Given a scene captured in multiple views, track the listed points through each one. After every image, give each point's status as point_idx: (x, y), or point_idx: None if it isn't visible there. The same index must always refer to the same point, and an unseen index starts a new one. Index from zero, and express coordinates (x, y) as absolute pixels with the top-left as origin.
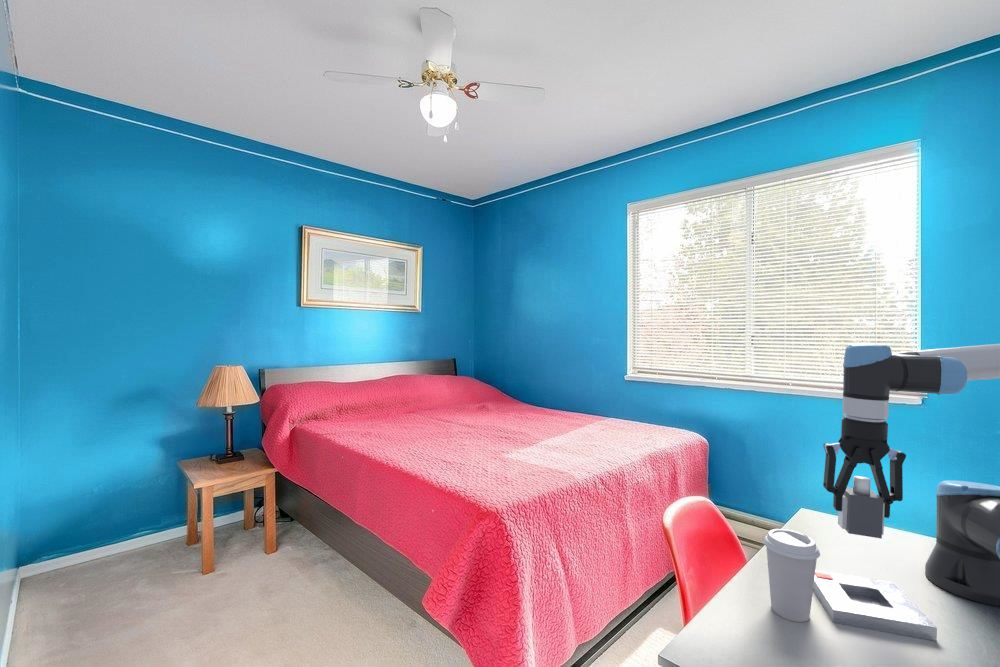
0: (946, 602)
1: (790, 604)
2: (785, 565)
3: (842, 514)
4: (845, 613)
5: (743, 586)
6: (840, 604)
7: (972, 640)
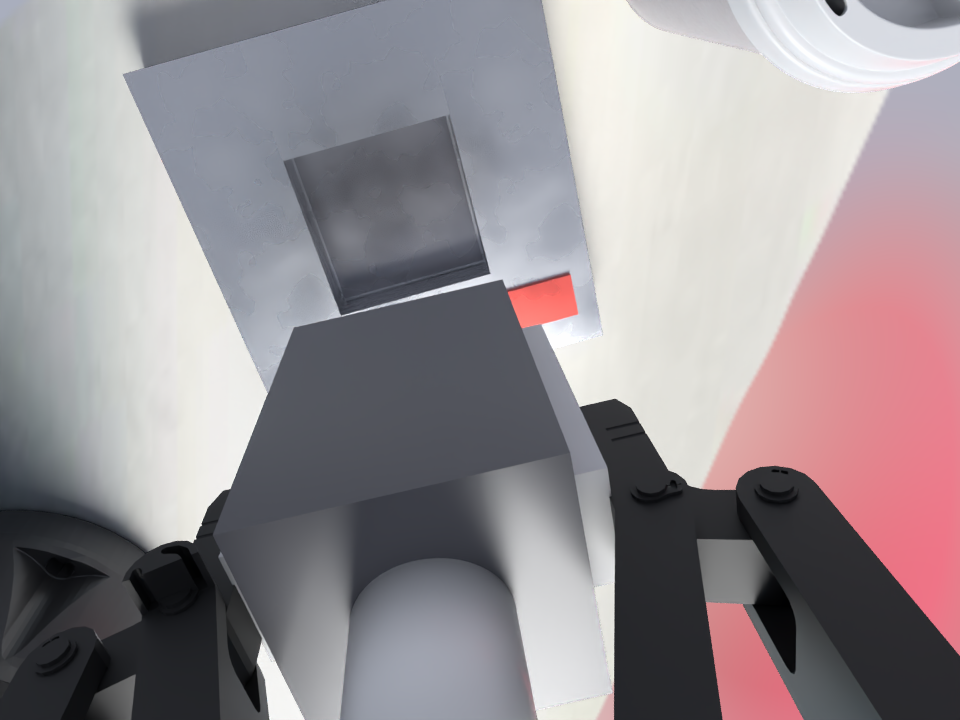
0: (117, 445)
1: None
2: None
3: (565, 382)
4: None
5: None
6: (498, 42)
7: (28, 177)
